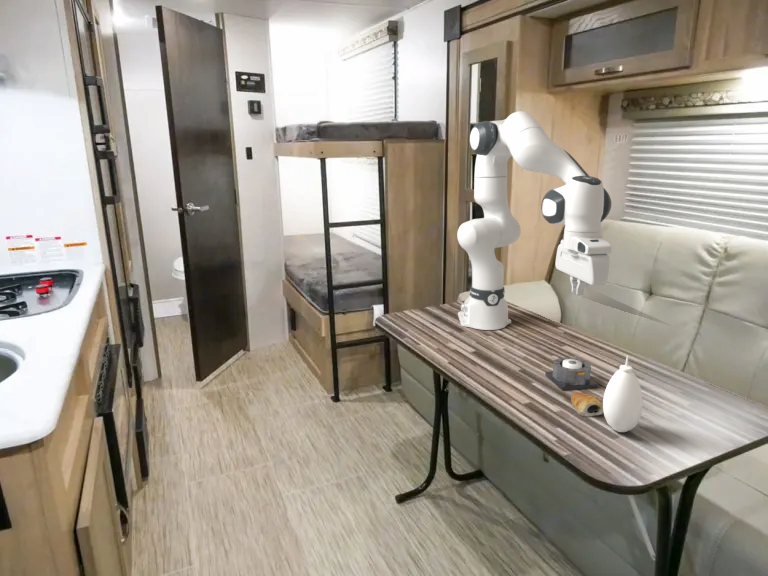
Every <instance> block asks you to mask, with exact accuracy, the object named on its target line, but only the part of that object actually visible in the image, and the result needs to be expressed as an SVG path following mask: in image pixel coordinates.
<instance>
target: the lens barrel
mask: <svg viewBox="0 0 768 576" xmlns="http://www.w3.org/2000/svg"><path fill="white" fill-rule="evenodd" d="M566 359H574V360H578V361H580V362H582V369H570V368H566V367H563V366H562V364H563V360H566ZM591 371H592V365H591V363H589V362H588V361H587V360H585V359H581V358H578V357H569V356H568V357H567V356H566V357H559V358H556V359H554V360H553V364H552V370H551V371H545V377H546V378H548V379H549V380H550V381H551V382H552V383H553V384H554V385H555V386H557V387H558V388H559V389H560V390H561V391H572V390H573V391H575V390H583V389H585V390H586V389H596V388H598V387H599V383H597V382H596V381H595V380H594V379H593V378H591Z"/></svg>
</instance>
